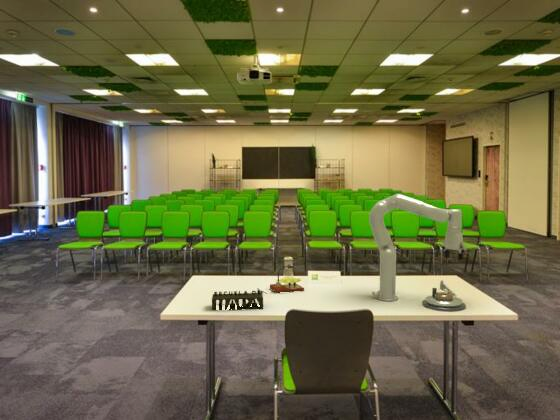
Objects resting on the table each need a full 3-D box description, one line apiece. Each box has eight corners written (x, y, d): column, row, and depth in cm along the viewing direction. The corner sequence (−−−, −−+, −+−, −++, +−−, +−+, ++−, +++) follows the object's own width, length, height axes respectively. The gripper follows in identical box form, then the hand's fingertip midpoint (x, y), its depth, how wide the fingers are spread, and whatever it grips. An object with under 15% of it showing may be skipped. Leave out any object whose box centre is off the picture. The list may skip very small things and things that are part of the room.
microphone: (254, 291, 321) (254, 264, 320) (297, 287, 331) (296, 261, 330) (260, 295, 309) (260, 268, 307) (304, 291, 318) (304, 265, 317)
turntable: (428, 307, 273) (429, 295, 272) (423, 297, 293) (423, 286, 292) (465, 308, 270) (466, 296, 270) (457, 298, 290) (457, 287, 290)
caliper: (439, 289, 322) (439, 279, 322) (441, 289, 322) (441, 279, 322) (455, 296, 302) (455, 287, 301) (456, 296, 302) (456, 286, 302)
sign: (212, 311, 274) (211, 294, 273) (213, 306, 285) (212, 289, 284) (263, 309, 277) (263, 292, 276) (262, 304, 287) (262, 288, 287)
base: (425, 310, 271) (426, 301, 271) (419, 299, 295) (419, 290, 295) (470, 312, 268) (470, 302, 268) (460, 300, 292) (460, 291, 291)
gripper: (438, 229, 291) (437, 257, 293) (462, 232, 277) (461, 261, 278) (446, 228, 295) (446, 256, 297) (471, 231, 280) (470, 260, 282)
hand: (453, 258), depth 287 cm, fingers open, 9 cm apart
